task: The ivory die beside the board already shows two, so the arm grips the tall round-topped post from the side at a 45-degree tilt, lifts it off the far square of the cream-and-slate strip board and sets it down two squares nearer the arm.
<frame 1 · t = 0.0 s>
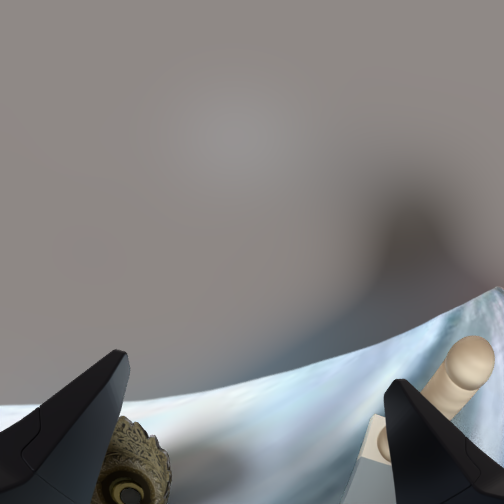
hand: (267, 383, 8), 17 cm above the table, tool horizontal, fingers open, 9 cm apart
round-topped post: (398, 443, 20), point 1 cm above the table, touching board
cup: (131, 497, 14), on the table
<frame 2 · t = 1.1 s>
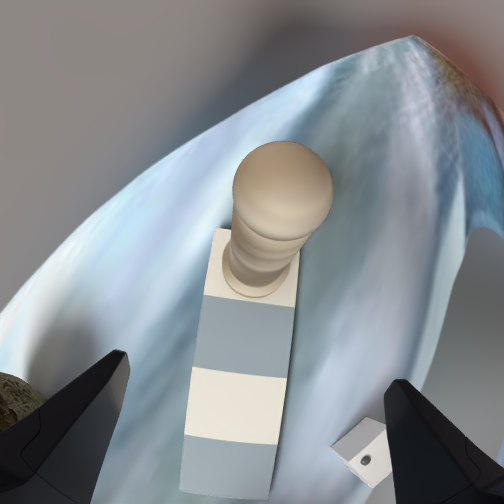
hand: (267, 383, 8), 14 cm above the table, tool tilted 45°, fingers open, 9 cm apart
die: (359, 445, 20), on the table
round-topped post: (254, 266, 23), point 1 cm above the table, touching board
cup: (38, 407, 18), on the table
board: (239, 372, 21), on the table
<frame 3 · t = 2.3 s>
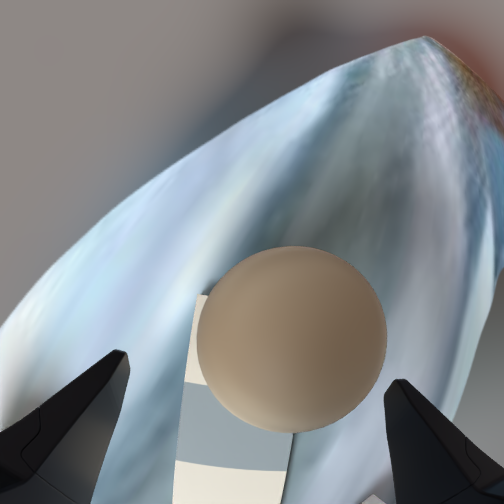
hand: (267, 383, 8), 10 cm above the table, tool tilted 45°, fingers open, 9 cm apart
round-topped post: (248, 346, 17), point 1 cm above the table, touching board
board: (231, 462, 15), on the table
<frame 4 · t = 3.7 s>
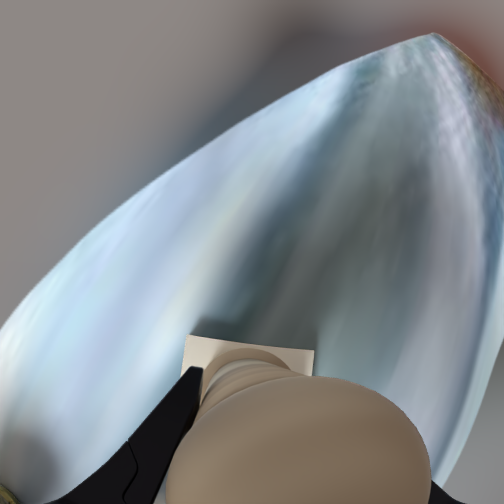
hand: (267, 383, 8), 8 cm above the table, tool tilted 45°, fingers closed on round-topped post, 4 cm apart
round-topped post: (245, 393, 14), point 1 cm above the table, touching board, gripper
cup: (11, 500, 9), on the table
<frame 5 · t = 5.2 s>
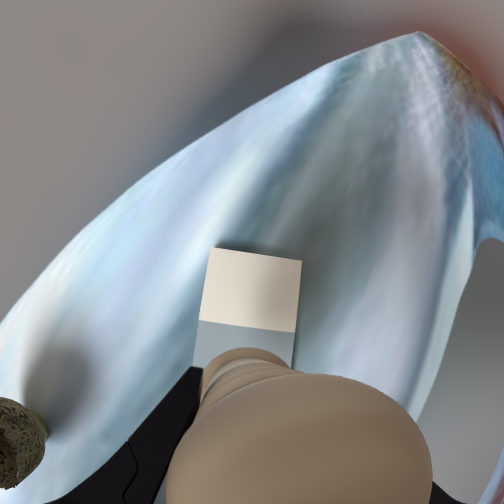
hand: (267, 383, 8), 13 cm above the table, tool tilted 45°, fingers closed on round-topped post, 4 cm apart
round-topped post: (245, 392, 14), point 6 cm above the table, touching gripper
cup: (36, 426, 17), on the table
board: (236, 398, 20), on the table
when the fingers open (8 cm above the table, at t = 7.0 s): round-topped post stays where it is, resting on board.
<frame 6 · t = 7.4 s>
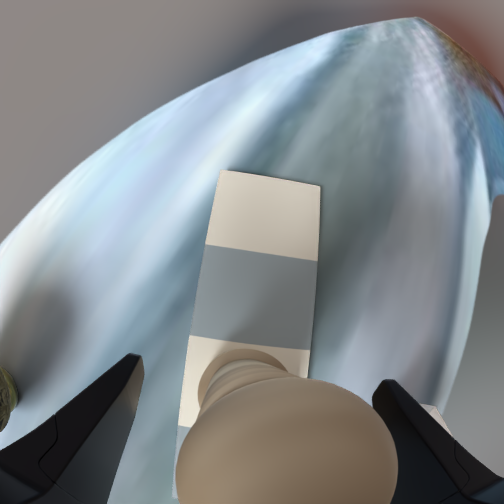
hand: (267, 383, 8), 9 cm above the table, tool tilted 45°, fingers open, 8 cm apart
round-topped post: (244, 391, 15), point 1 cm above the table, touching board
cup: (7, 389, 14), on the table
board: (249, 344, 17), on the table
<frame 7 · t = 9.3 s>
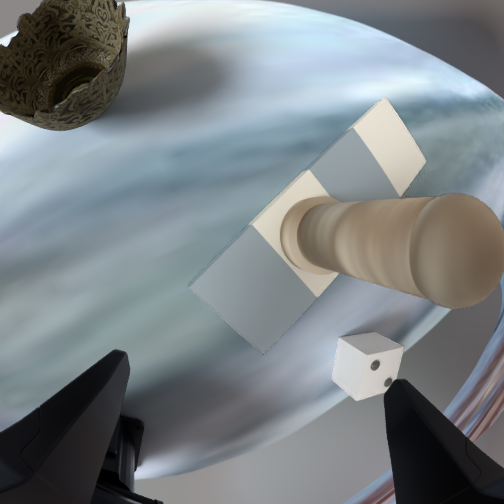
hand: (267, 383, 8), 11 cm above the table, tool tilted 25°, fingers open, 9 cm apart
die: (353, 355, 23), on the table
round-topped post: (313, 234, 19), point 1 cm above the table, touching board
cup: (86, 103, 15), on the table
board: (331, 208, 21), on the table
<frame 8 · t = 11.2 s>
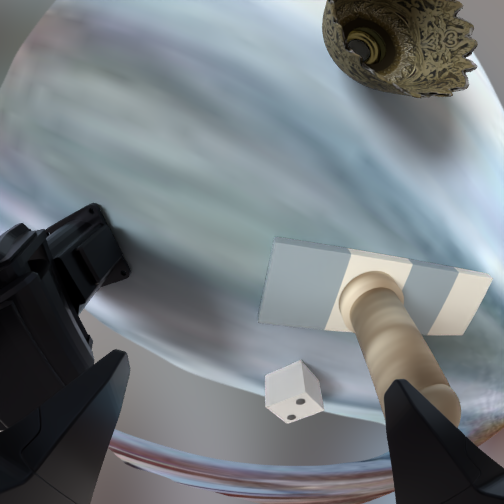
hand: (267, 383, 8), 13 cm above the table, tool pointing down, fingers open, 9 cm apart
die: (292, 377, 27), on the table
round-topped post: (368, 298, 21), point 1 cm above the table, touching board
cup: (357, 51, 15), on the table
board: (392, 294, 22), on the table
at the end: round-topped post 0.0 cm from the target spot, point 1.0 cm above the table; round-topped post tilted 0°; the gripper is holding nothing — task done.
